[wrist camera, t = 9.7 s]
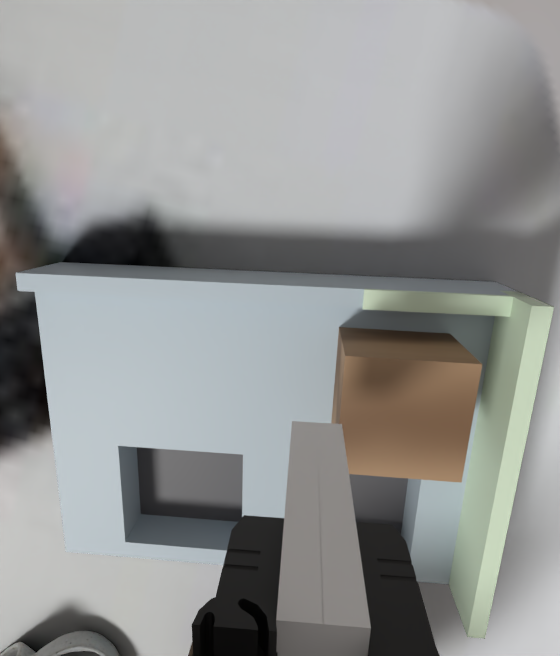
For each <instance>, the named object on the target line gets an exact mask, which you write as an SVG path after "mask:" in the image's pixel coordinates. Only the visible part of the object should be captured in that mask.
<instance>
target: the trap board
mask: <svg viewBox="0 0 560 656" xmlns="http://www.w3.org/2000/svg"><path fill="white" fill-rule="evenodd" d="M16 280H17V288H18V291H31V292H35V297H36V305H37V314H38V322H39V331H40V339H41V347H42V356H43V364H44V373H45V381H46V389H47V398H48V406H49V415H50V423H51V431H52V440H53V448H54V457H55V465H56V473H57V482H58V490H59V499H60V507H61V515H62V524H63V532H64V541H65V549H66V552H74V553H86V554H97V555H109V556H121V557H133V558H145V559H156V560H168V561H180V562H192V563H203V564H215V565H224V560H225V556H226V552H227V547H228V543H229V539H230V535H231V530H232V529H233V528H234V527H235V525H236V524H237V523H238V522H239V520H240V519H241V518H242V517H243V516H244V515H248V516H261V517H275V518H284V515H285V503H286V490H287V478H288V465H289V452H290V440H291V427H292V421H299V422H315V423H331V420H332V408H333V395H334V383H335V370H336V358H337V345H338V333H339V327H347V328H364V329H381V330H398V331H416V332H433V333H450V334H451V335H452V336H453V337H454V338H455V339H456V340H457V341H458V342H459V343H460V344H462V345H463V346H464V347H465V348H466V349H467V350H468V351H469V352H470V353H471V354H472V355H473V356H474V357H475V358H476V359H477V360H478V361H479V362H481V363H482V370H481V375H480V381H479V387H478V392H477V398H476V404H475V409H474V415H473V421H472V426H471V432H470V438H469V443H468V449H467V455H466V460H465V466H464V472H463V477H462V483H460V482H447V481H434V480H421V479H408V478H395V477H382V476H369V475H356V474H349V478H350V485H351V492H352V499H353V506H354V513H355V520H356V522H364V523H378V524H391V525H393V526H394V527H395V528H396V529H397V531H398V532H399V533H400V534H401V536H402V537H403V538H404V540H405V541H406V543H407V546H408V550H409V553H410V557H411V561H412V565H413V568H414V571H415V575H416V581H417V582H427V583H439V584H449V587H450V590H451V592H452V595H453V598H454V601H455V604H456V606H457V609H458V612H459V615H460V618H461V620H462V623H463V626H464V629H465V632H466V634H467V637H473V638H484V639H485V635H486V630H487V626H488V621H489V616H490V611H491V607H492V602H493V597H494V592H495V587H496V583H497V578H498V573H499V568H500V563H501V559H502V554H503V549H504V544H505V539H506V535H507V530H508V525H509V520H510V516H511V511H512V506H513V501H514V496H515V492H516V487H517V482H518V477H519V472H520V468H521V463H522V458H523V453H524V448H525V444H526V439H527V434H528V429H529V425H530V420H531V415H532V410H533V405H534V401H535V396H536V391H537V386H538V381H539V377H540V372H541V367H542V362H543V358H544V353H545V348H546V343H547V338H548V334H549V329H550V324H551V319H552V314H553V310H554V307H553V306H551V305H549V304H546V303H544V302H542V301H539V300H537V299H535V298H532V297H530V296H528V295H525V294H523V293H521V292H518V291H516V290H514V289H511V288H509V287H506V286H504V285H502V284H499V283H497V282H490V281H468V280H446V279H424V278H401V277H379V276H357V275H335V274H312V273H290V272H268V271H246V270H224V269H201V268H179V267H157V266H135V265H112V264H90V263H68V262H60V263H56V264H52V265H47V266H43V267H39V268H35V269H30V270H26V271H22V272H17V273H16Z"/></svg>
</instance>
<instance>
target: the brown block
mask: <svg viewBox="0 0 560 656" xmlns="http://www.w3.org/2000/svg"><path fill="white" fill-rule="evenodd" d="M481 370H482V363H481V362H479V361H478V360H477V359H476V358H475V357H474V356H473V355H472V354H471V353H470V352H469V351H468V350H467V349H466V348H465V347H464V346H463V345H462V344H460V343H459V342H458V341H457V340H456V339H455V338H454V337H453V336H452V335H451V334H450V333H433V332H416V331H398V330H381V329H364V328H347V327H339V333H338V345H337V358H336V370H335V383H334V395H333V408H332V420H331V423H332V424H342V429H343V436H344V443H345V450H346V457H347V464H348V471H349V474H356V475H369V476H382V477H395V478H408V479H421V480H434V481H447V482H460V483H462V477H463V472H464V466H465V460H466V455H467V449H468V443H469V438H470V432H471V426H472V421H473V415H474V409H475V404H476V398H477V392H478V387H479V381H480V375H481Z"/></svg>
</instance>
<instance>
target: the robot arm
mask: <svg viewBox="0 0 560 656" xmlns="http://www.w3.org/2000/svg"><path fill="white" fill-rule="evenodd" d="M192 640H193V654H192V655H191V656H439V653H438V651H437V648H436V646H435V642H434V639H433V635H432V632H431V628H430V625H429V621H428V617H427V614H426V610H425V607H424V603H423V600H422V596H421V593H420V589H419V585H418V582H417V581H416V575H415V571H414V568H413V565H412V561H411V557H410V553H409V550H408V546H407V543H406V541H405V540H404V538H403V537H402V536H401V534H400V533H399V532H398V531H397V529H396V528H395V527H394V526H393V525H391V524H378V523H364V522H356V520H355V513H354V506H353V499H352V492H351V485H350V478H349V471H348V464H347V457H346V450H345V443H344V436H343V429H342V424H332V423H315V422H299V421H292V427H291V440H290V452H289V465H288V478H287V490H286V503H285V515H284V518H275V517H261V516H248V515H244V516H243V517H242V518H241V519H240V520H239V522H238V523H237V524H236V525H235V527H234V528H233V529H232V530H231V535H230V539H229V543H228V547H227V552H226V556H225V560H224V565H223V569H222V573H221V577H220V581H219V586H218V590H217V594H216V597H215V598H213V599H211V600H210V601H208V602H207V603H206V604H205V605H204V606H203V607H202V608H201V609H200V610H199V611H198V613H197V615H196V618H195V620H194V622H193V624H192Z"/></svg>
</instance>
